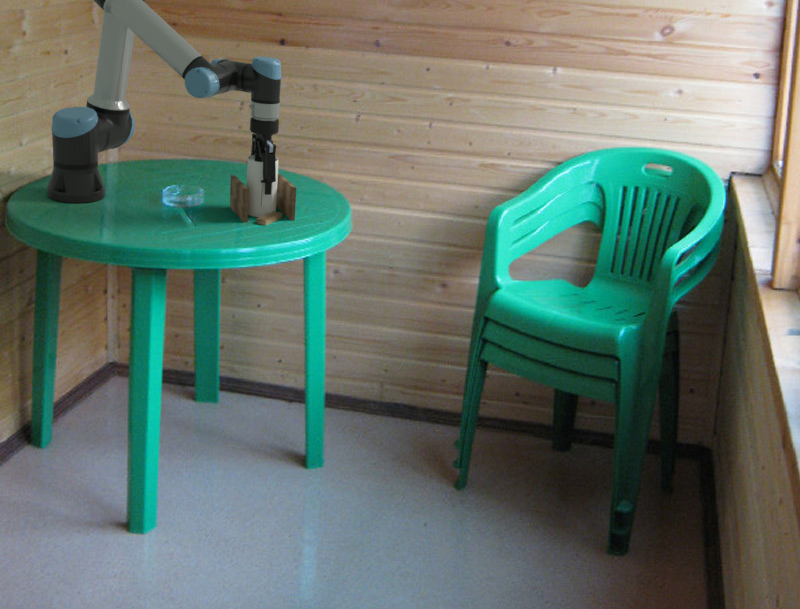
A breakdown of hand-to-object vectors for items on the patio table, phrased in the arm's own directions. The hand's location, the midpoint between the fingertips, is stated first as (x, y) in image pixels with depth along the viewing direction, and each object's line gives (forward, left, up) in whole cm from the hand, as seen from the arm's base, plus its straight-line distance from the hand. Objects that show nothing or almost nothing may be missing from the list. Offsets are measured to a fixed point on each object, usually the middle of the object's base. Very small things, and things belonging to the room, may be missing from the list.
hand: (261, 200), depth 286 cm
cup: (0, 0, -4) cm, 4 cm away
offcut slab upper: (+7, 0, -4) cm, 8 cm away
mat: (+1, -14, -4) cm, 15 cm away
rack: (+1, 0, -4) cm, 4 cm away
